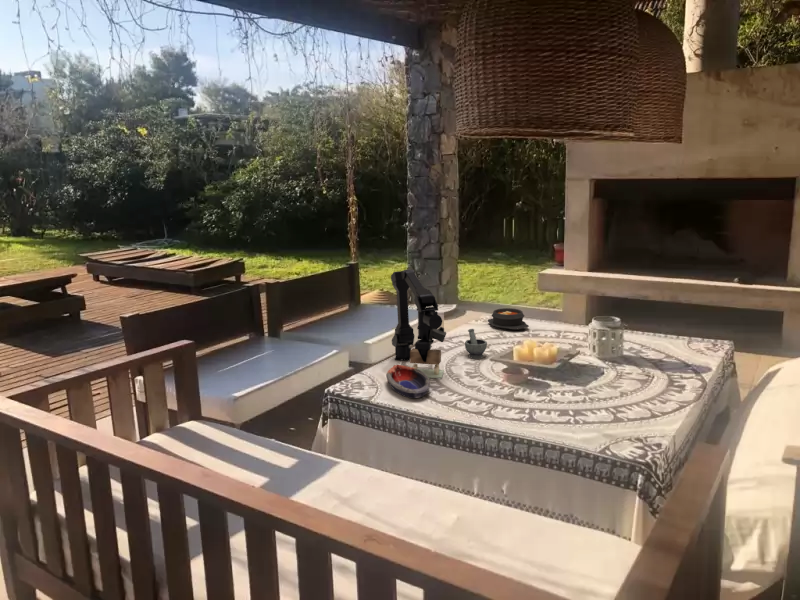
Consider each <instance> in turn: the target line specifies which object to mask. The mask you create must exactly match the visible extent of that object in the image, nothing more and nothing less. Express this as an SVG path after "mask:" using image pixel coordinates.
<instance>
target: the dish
mask: <svg viewBox="0 0 800 600" xmlns="http://www.w3.org/2000/svg"><path fill="white" fill-rule="evenodd" d="M418 369H419V368H418ZM418 369H415V368H412V366H407V365H402V364H394V365H393V366H392V367H390V368H389V369H388V370H387V372H386V375H385V376H386V380H387V381H388V384H389V386H390V387H391V388H392V390H394V391H395V392H396V393H397V394H400V395H401V396H404V397H406V398H409V399H410V398H411V399H418V398H422V397H424V396H425V395H427V393H428V392H429V390H430V387H431V380H430V378H428V377H427V375H426V374H424V373H423V372H422V371H420V370H418Z"/></svg>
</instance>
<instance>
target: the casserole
mask: <svg viewBox="0 0 800 600" xmlns="http://www.w3.org/2000/svg"><path fill="white" fill-rule="evenodd" d="M491 317H492V318H489V319H487V322H488V323H489V324H490V325H491V326H493V327H494V328H498V329H502V330H517V331H518V330H523V329H527V328H529V327H530V326H529V324H527V323H526V322H525V321H523V320H524V317H525V314H524V312H523V311H522V310H521V309H518V308H512V307H511V308H510V307H509V308H498V309H494V310H493V312H492V313H491Z"/></svg>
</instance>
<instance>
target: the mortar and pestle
mask: <svg viewBox="0 0 800 600" xmlns="http://www.w3.org/2000/svg"><path fill="white" fill-rule="evenodd" d="M467 332H468V335H469V339H467V340H465V341H464V347H465V350H466V352H467V353H468V357H469V358H470V359H472V358H474V360H479V359H483V358H484V355H483V354H484V353H485V351H486V350H487V348H488V341H487V340H484V339H480V338H476V334H475V329H474V328H469V329H468V330H467Z"/></svg>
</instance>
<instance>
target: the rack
mask: <svg viewBox="0 0 800 600" xmlns="http://www.w3.org/2000/svg"><path fill="white" fill-rule="evenodd" d="M412 364H413V365H412V366H411V367H412V368H415V369H418V370H420V371H422V372H423V373H424V374H426V375H427V377H428V378H429V379H431V378H440V379H439V380H442V379H441V378H443V376H444V373H443V372H445V371H444V370H445V369H440V364H439V365H434V367H433V369H430V368H429V369H428V368H426V369H425V368H419V367H418V366H419V365H418V363H412ZM442 375H443V376H442Z"/></svg>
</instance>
